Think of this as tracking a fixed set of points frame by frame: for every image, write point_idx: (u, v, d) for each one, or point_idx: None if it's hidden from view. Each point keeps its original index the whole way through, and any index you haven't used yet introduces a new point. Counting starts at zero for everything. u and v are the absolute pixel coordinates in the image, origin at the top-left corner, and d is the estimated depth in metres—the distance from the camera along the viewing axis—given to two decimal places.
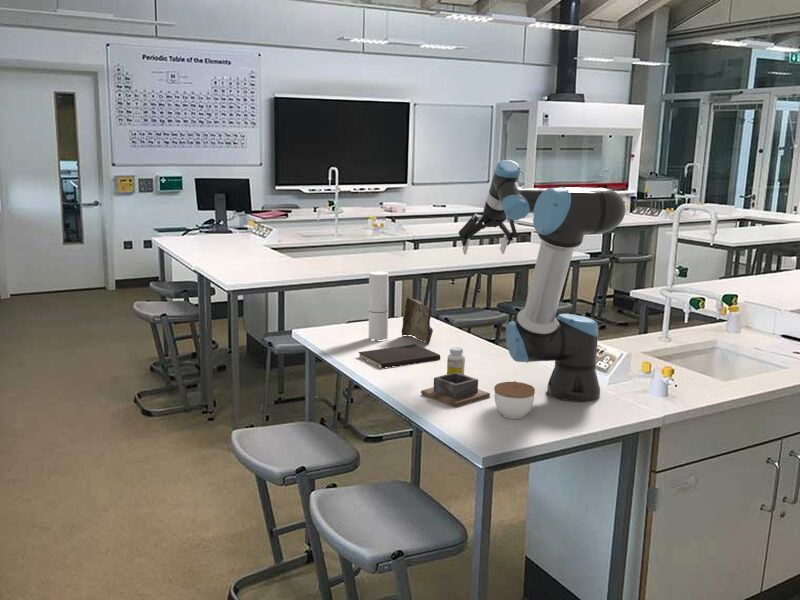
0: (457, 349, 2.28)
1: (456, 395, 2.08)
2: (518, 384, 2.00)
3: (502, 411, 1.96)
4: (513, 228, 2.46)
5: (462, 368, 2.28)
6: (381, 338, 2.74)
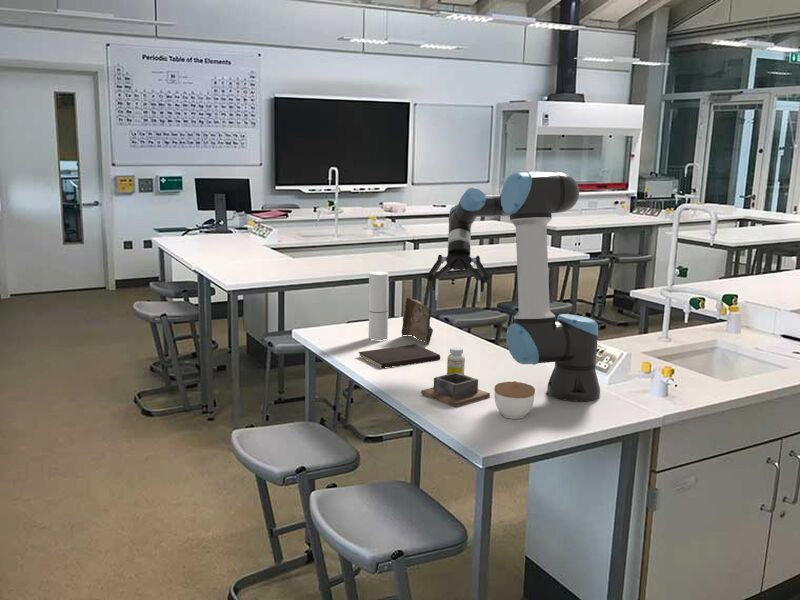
0: (457, 349, 2.28)
1: (456, 395, 2.08)
2: (518, 384, 2.00)
3: (502, 411, 1.96)
4: (482, 267, 2.41)
5: (462, 368, 2.28)
6: (381, 338, 2.74)
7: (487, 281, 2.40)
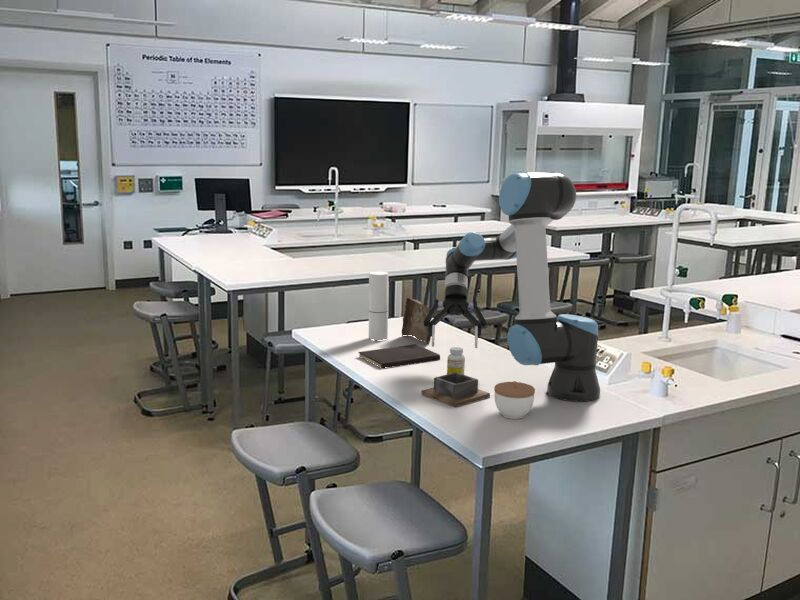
0: (457, 349, 2.28)
1: (456, 395, 2.08)
2: (518, 384, 2.00)
3: (502, 411, 1.96)
4: (479, 313, 2.39)
5: (462, 368, 2.28)
6: (381, 338, 2.74)
7: (484, 327, 2.37)
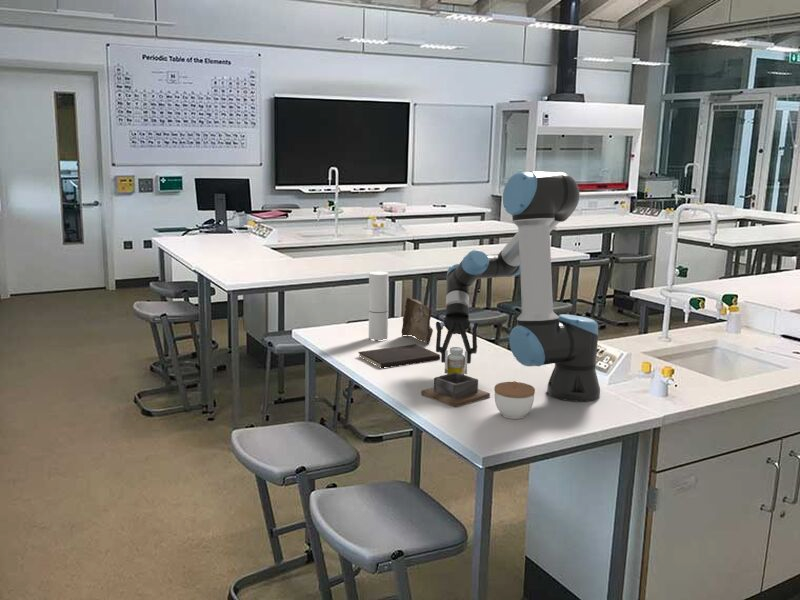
0: (457, 349, 2.28)
1: (456, 395, 2.08)
2: (518, 384, 2.00)
3: (502, 411, 1.96)
4: (474, 336, 2.32)
5: (462, 368, 2.28)
6: (381, 338, 2.74)
7: (473, 351, 2.30)
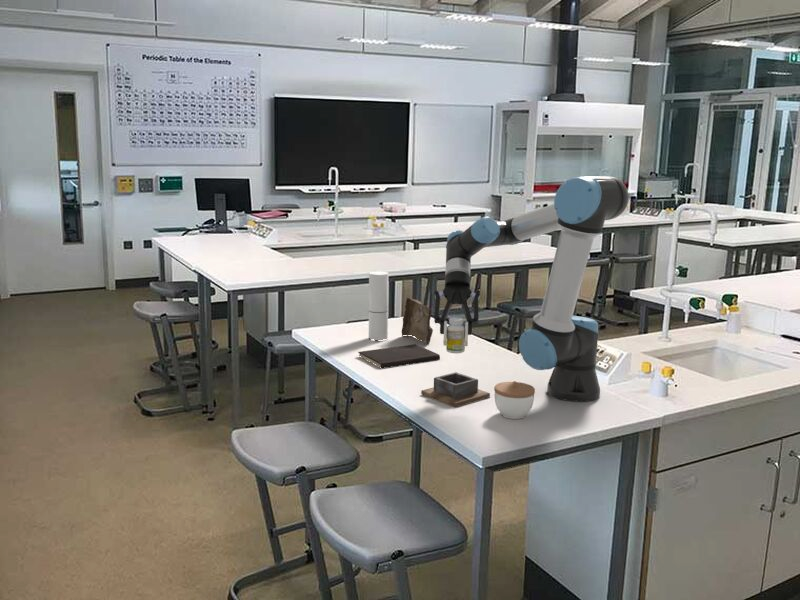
0: (457, 319, 2.11)
1: (456, 395, 2.08)
2: (518, 384, 2.00)
3: (502, 411, 1.96)
4: (476, 306, 2.15)
5: (462, 340, 2.11)
6: (381, 338, 2.74)
7: (475, 322, 2.13)
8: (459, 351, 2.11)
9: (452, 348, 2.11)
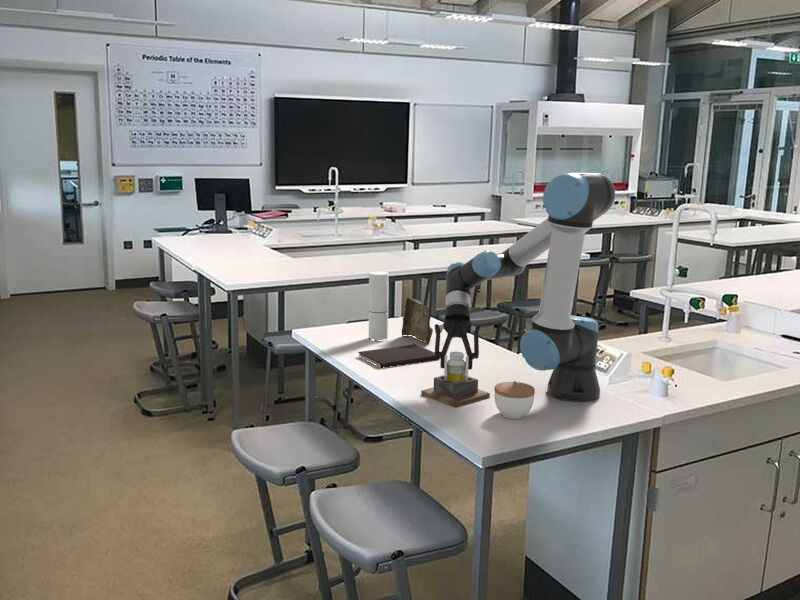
0: (457, 354, 2.11)
1: (456, 395, 2.08)
2: (518, 384, 2.00)
3: (502, 411, 1.96)
4: (476, 340, 2.15)
5: (463, 374, 2.11)
6: (381, 338, 2.74)
7: (475, 356, 2.13)
8: None
9: (452, 382, 2.11)
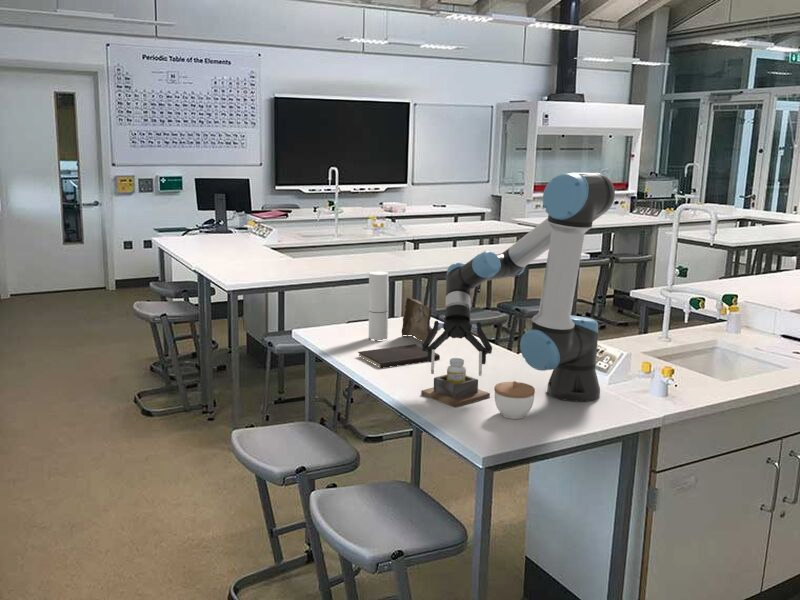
0: (457, 360, 2.11)
1: (456, 395, 2.08)
2: (518, 384, 2.00)
3: (502, 411, 1.96)
4: (483, 336, 2.15)
5: (463, 381, 2.12)
6: (381, 338, 2.74)
7: (489, 352, 2.14)
8: None
9: None
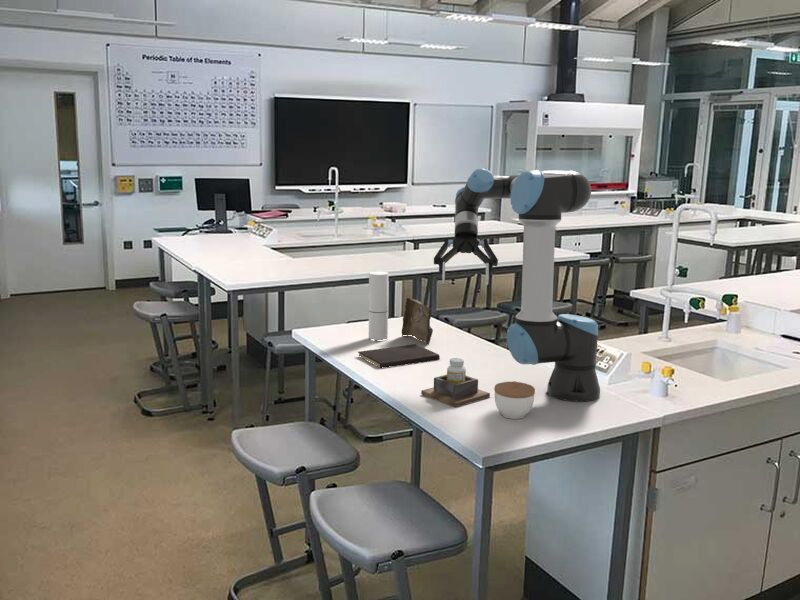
0: (457, 360, 2.11)
1: (456, 395, 2.08)
2: (518, 384, 2.00)
3: (502, 411, 1.96)
4: (490, 250, 2.35)
5: (463, 381, 2.12)
6: (381, 338, 2.74)
7: (495, 264, 2.34)
8: None
9: None
